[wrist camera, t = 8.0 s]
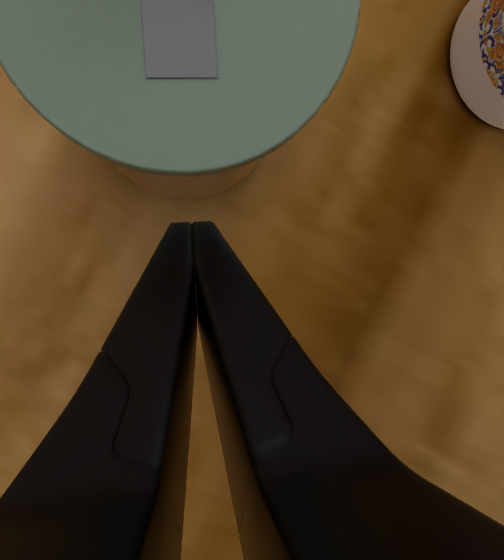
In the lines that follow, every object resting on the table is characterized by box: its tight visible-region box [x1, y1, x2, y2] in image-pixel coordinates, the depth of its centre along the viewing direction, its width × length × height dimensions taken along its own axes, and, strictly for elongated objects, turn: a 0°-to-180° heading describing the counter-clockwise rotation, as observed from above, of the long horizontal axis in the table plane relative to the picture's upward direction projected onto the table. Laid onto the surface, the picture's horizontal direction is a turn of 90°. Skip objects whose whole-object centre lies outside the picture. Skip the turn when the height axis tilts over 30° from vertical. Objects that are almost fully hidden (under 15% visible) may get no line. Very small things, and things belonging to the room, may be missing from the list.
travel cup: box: [0, 0, 361, 200], centre depth 15 cm, size 9×9×10 cm
